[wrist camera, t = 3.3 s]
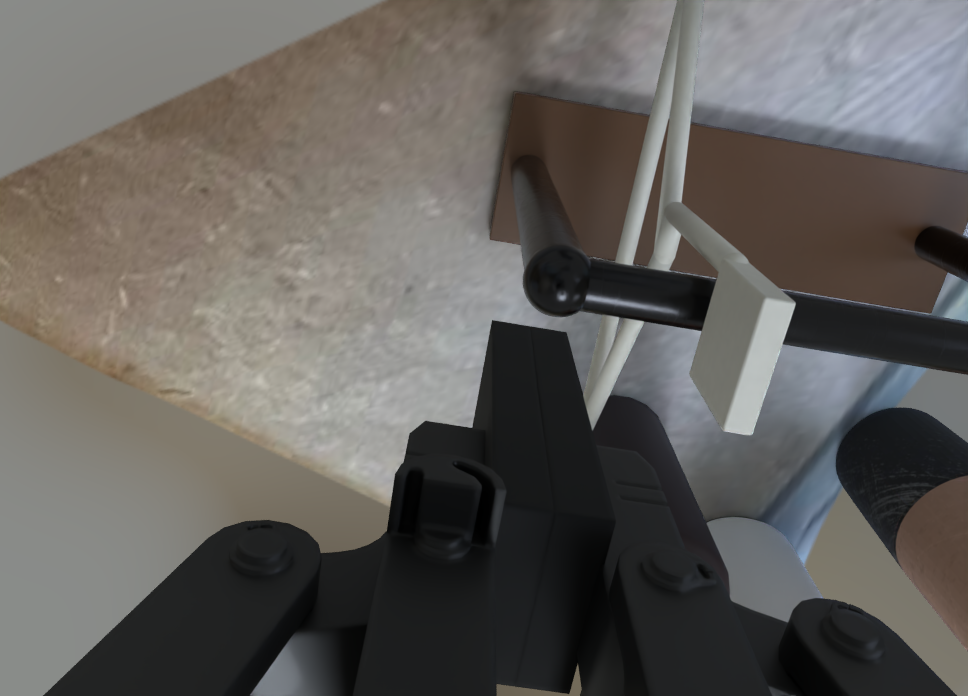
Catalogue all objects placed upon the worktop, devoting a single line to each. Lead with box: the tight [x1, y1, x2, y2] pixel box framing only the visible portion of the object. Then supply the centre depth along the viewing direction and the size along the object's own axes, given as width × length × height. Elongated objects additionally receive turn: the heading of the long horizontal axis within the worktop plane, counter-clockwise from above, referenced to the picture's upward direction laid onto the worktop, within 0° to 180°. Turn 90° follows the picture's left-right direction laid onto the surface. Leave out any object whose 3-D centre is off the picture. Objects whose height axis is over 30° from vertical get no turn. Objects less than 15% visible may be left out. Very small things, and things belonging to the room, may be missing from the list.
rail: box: [490, 91, 968, 375], centre depth 34 cm, size 8×26×23 cm, turn 80°
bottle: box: [593, 396, 730, 596], centre depth 41 cm, size 7×7×20 cm
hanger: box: [583, 0, 796, 435], centre depth 27 cm, size 23×1×18 cm, turn 170°
